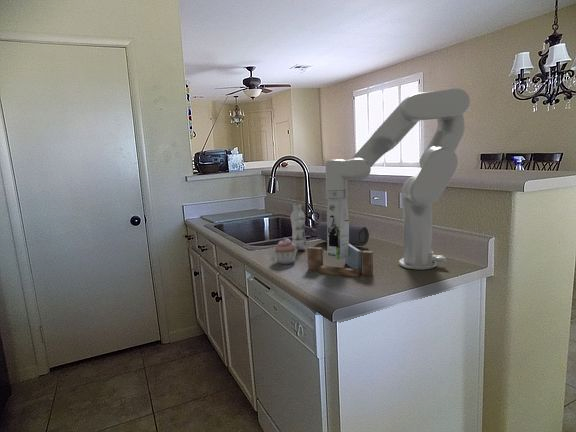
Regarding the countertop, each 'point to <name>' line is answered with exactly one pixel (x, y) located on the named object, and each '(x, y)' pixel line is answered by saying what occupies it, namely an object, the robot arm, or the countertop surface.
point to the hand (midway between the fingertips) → (337, 243)
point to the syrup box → (340, 242)
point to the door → (354, 258)
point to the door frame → (317, 264)
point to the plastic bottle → (298, 227)
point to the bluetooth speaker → (356, 234)
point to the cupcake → (285, 251)
